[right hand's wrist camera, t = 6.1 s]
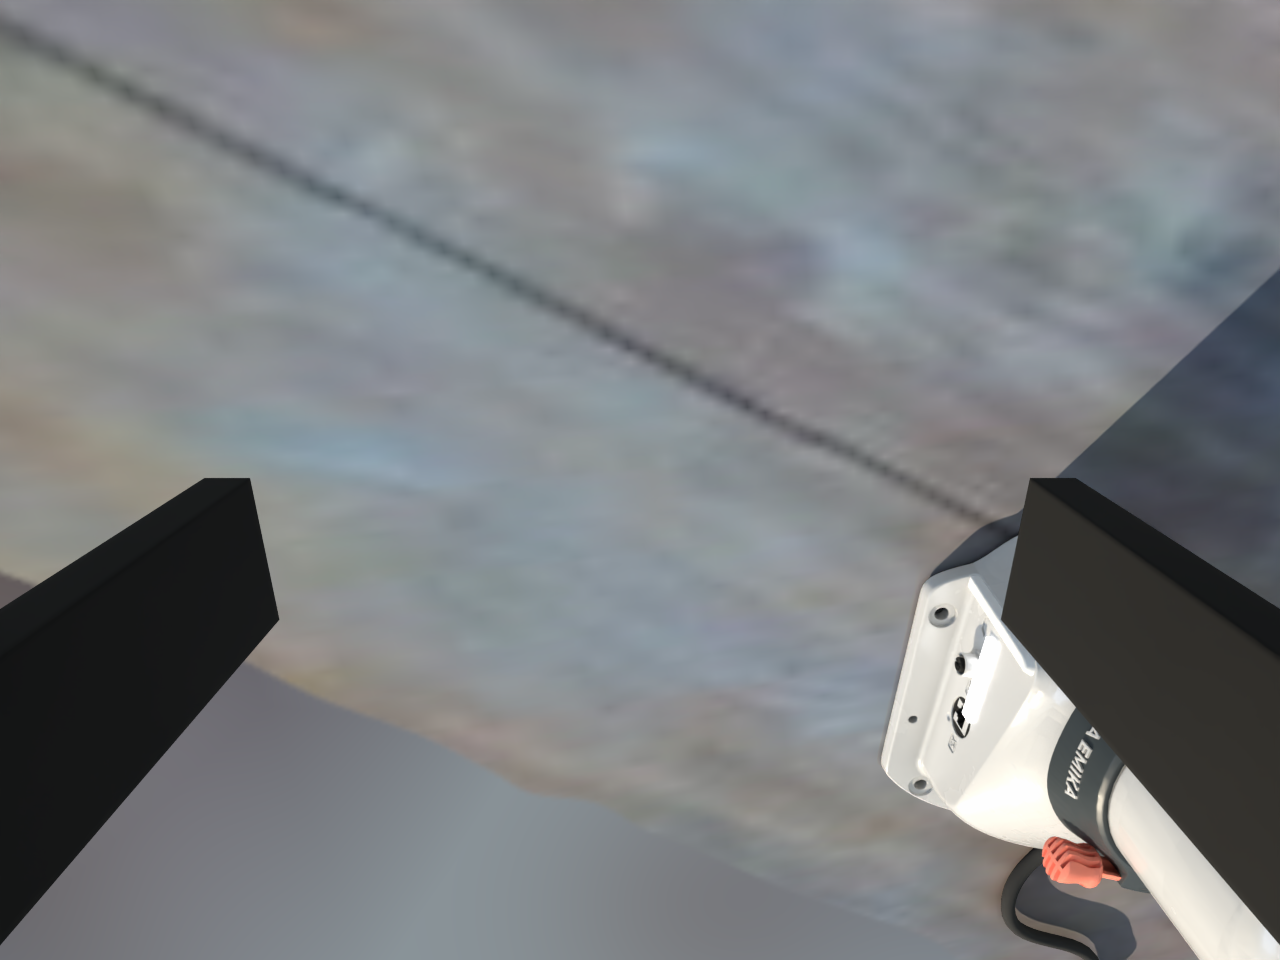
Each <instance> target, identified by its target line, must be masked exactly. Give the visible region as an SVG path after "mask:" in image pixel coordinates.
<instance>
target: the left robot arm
mask: <svg viewBox="0 0 1280 960" xmlns="http://www.w3.org/2000/svg"><path fill="white" fill-rule="evenodd" d="M1017 539H1018V536H1016V537H1014V538H1012V539H1010V540H1009V541H1007V542H1005V543H1004V544H1002V545H1001V546H1000V547H998V548H997V549H995V550H994V551H992V552H991V553H989V554H988V555H986V556H985V557H983V558H981V559H980V560H978V561H976V562H974V563H971V564H967V565H963V566H959V567H956V568H952V569H949V570H946V571H943V572H940V573H938V574H936V575H934V576H932V577H930V578H929V579H928V580H927V581H926V582H925V583H924V584H923V586H922V588H921V591H920V595H919V600H918V604H917V608H916V612H915V616H914V621H913V625H912V629H911V633H910V638H909V642H908V646H907V650H906V654H905V659H904V663H903V667H902V671H901V676H900V680H899V684H898V688H897V692H896V697H895V701H894V705H893V709H892V714H891V718H890V722H889V726H888V730H887V735H886V739H885V743H884V748H883V752H882V757H881V765H882V767H883V768H884V770H885V772H886V773H887V775H888V776H889V777H890V778H891V779H892V780H893V781H894V782H895V783H896V784H897V785H898V786H899V787H901V788H902V789H903V790H905V791H906V792H908V793H909V794H911V795H913V796H915V797H917V798H919V799H921V800H923V801H926V802H928V803H931V804H933V805H936V806H939V807H942V808H945V809H949V810H951V811H952V812H953V813H954V814H955V815H956V816H958V817H959V818H960V819H961V820H963V821H964V822H965V823H967V824H969V825H970V826H972V827H974V828H975V829H977V830H979V831H981V832H983V833H986V834H988V835H991V836H993V837H996V838H999V839H1002V840H1005V841H1008V842H1011V843H1015V844H1020V845H1024V846H1028V847H1034V849H1033V850H1032V851H1030V852H1029V853H1028V854H1027V855H1026V856H1025V857H1024V858H1023V859H1022V860H1021V861H1020V862H1019V863H1018V864H1017V866H1016V867H1015V868H1014V870H1013V871H1012V872H1011V874H1010V876H1009V877H1008V879H1007V881H1006V884H1005V886H1004V889H1003V893H1002V898H1001V911H1002V917H1003V919H1004V921H1005V923H1006V925H1007V926H1008V928H1009V929H1010V930H1011V931H1012V932H1013V933H1014V934H1016V935H1017V936H1019V937H1021V938H1022V939H1025V940H1027V941H1030V942H1033V943H1036V944H1040V945H1044V946H1048V947H1052V948H1056V949H1060V950H1064V951H1067V952H1070V953H1073V954H1075V955H1078V956H1079V957H1081V958H1083V959H1084V960H1099V959H1098V957H1097V956H1096V955H1095V953H1094V952H1093V951H1092V950H1091V949H1090V948H1089V947H1087V946H1086V945H1084V944H1083V943H1080V942H1078V941H1075V940H1073V939H1070V938H1066V937H1063V936H1058V935H1054V934H1050V933H1046V932H1042V931H1039V930H1035V929H1033V928H1030V927H1028V926H1026V925H1024V924H1022V923H1021V922H1020V921H1019V920H1018V919H1017V916H1016V914H1015V903H1016V899H1017V896H1018V893H1019V891H1020V889H1021V887H1022V885H1023V884H1024V882H1025V881H1026V879H1027V878H1028V877H1029V875H1030V874H1031V873H1032V872H1033V871H1034V870H1035V869H1036V868H1037V867H1038V866H1039V865H1040V864H1042V863H1043V866H1044V867H1046V873H1047V874H1048V875H1051V879H1052V880H1055V881H1057V882H1061V883H1078V884H1080V885H1082V886H1084V887H1086V888H1093V887H1095V886H1097V885H1098V884H1099V883H1100V881H1101V879H1102V877H1103V878H1108V879H1113V880H1117V882H1118V883H1119V884H1120V886H1121V887H1123V888H1126V889H1130V890H1134V891H1139V892H1145V893H1151V894H1152V896H1153V897H1154V898H1155V900H1156V901H1157V902H1158V904H1159V905H1160V906H1161V908H1162V909H1163V911H1164V912H1165V913H1166V915H1167V916H1168V917H1169V919H1170V920H1171V921H1172V923H1173V924H1174V925H1175V927H1176V928H1177V930H1178V931H1179V932H1180V934H1181V935H1182V936H1183V938H1184V939H1185V940H1186V942H1187V943H1188V945H1189V946H1190V947H1191V949H1192V950H1193V951H1194V953H1195V954H1196V955H1197V957H1198V958H1199V960H1280V945H1279V944H1278V942H1277V941H1276V940H1275V939H1274V938H1273V937H1272V935H1271V934H1270V933H1269V932H1268V931H1267V930H1266V928H1265V927H1264V926H1263V925H1262V924H1261V923H1260V921H1259V920H1258V919H1257V918H1256V917H1255V916H1254V914H1253V913H1252V912H1251V911H1250V910H1249V909H1248V907H1247V906H1246V905H1245V904H1244V903H1243V902H1242V900H1241V899H1240V898H1239V897H1238V896H1237V895H1236V893H1235V892H1234V891H1233V890H1232V889H1231V888H1230V886H1229V885H1228V884H1227V883H1226V882H1225V881H1224V879H1223V878H1222V877H1221V876H1220V875H1219V874H1218V872H1217V871H1216V870H1215V869H1214V868H1213V867H1212V865H1211V864H1210V863H1209V862H1208V861H1207V860H1206V858H1205V857H1204V856H1203V855H1202V854H1201V853H1200V851H1199V850H1198V849H1197V848H1196V847H1195V846H1194V844H1193V843H1192V842H1191V841H1190V840H1189V839H1188V837H1187V836H1186V835H1185V834H1184V833H1183V832H1182V830H1181V829H1180V828H1179V827H1178V826H1177V825H1176V823H1175V822H1174V821H1173V820H1172V819H1171V818H1170V816H1169V815H1168V814H1167V813H1166V812H1165V811H1164V809H1163V808H1162V807H1161V806H1160V805H1159V804H1158V802H1157V801H1156V800H1155V799H1154V798H1153V797H1152V796H1151V794H1150V793H1149V792H1148V791H1147V790H1146V789H1145V787H1144V786H1143V785H1142V784H1141V783H1140V782H1139V780H1138V779H1137V778H1136V777H1135V776H1134V775H1133V773H1132V772H1131V771H1130V770H1129V769H1128V768H1127V766H1126V765H1125V764H1124V763H1123V762H1122V761H1121V759H1120V758H1119V757H1118V756H1117V755H1116V754H1115V752H1114V751H1113V750H1112V749H1111V748H1110V747H1109V745H1108V744H1107V743H1106V742H1105V741H1104V740H1103V738H1102V737H1101V736H1100V735H1099V734H1098V733H1097V731H1096V730H1095V729H1094V728H1093V727H1092V726H1091V724H1090V723H1089V722H1088V721H1087V720H1086V719H1085V717H1084V716H1083V715H1082V714H1081V713H1080V712H1079V710H1078V709H1077V708H1076V707H1075V706H1074V705H1073V703H1072V702H1071V701H1070V700H1069V699H1068V698H1067V696H1066V695H1065V694H1064V693H1063V692H1062V691H1061V689H1060V688H1059V687H1058V686H1057V685H1056V684H1055V682H1054V681H1053V680H1052V679H1051V678H1050V677H1049V675H1048V674H1047V673H1046V672H1045V671H1044V670H1043V668H1042V667H1041V666H1040V665H1039V664H1038V663H1037V661H1036V660H1035V659H1034V658H1033V657H1032V656H1031V654H1030V653H1029V652H1028V651H1027V650H1026V649H1025V647H1024V646H1023V645H1022V644H1021V643H1020V642H1019V640H1018V639H1017V638H1016V637H1015V636H1014V635H1013V633H1012V632H1011V631H1010V630H1009V629H1008V628H1007V626H1006V625H1005V624H1004V623H1003V622H1002V621H1001V616H1002V611H1003V606H1004V601H1005V596H1006V592H1007V587H1008V582H1009V577H1010V572H1011V568H1012V563H1013V558H1014V553H1015V548H1016V544H1017ZM939 608H944V609H943V611H942V612H940V613H937V614H935V612H936V610H937V609H939ZM918 780H920V781H918Z"/></svg>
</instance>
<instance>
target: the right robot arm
mask: <svg viewBox="0 0 1280 960" xmlns="http://www.w3.org/2000/svg"><path fill="white" fill-rule="evenodd" d="M278 621H279V616H278V611H277V606H276V601H275V597H274V592H273V587H272V582H271V577H270V572H269V568H268V563H267V558H266V553H265V548H264V544H263V539H262V534H261V529H260V524H259V519H258V515H257V510H256V505H255V500H254V495H253V491H252V486H251V481H250V478H204V479H202V480H201V481H199V482H198V483H196V484H195V485H193V486H191V487H190V488H188V489H187V490H185V491H184V492H182V493H180V494H179V495H177V496H176V497H174V498H173V499H171V500H170V501H168V502H166V503H165V504H163V505H162V506H160V507H159V508H157V509H156V510H154V511H152V512H151V513H149V514H148V515H146V516H145V517H143V518H141V519H140V520H138V521H137V522H135V523H134V524H132V525H131V526H129V527H127V528H126V529H124V530H123V531H121V532H120V533H118V534H117V535H115V536H113V537H112V538H110V539H109V540H107V541H106V542H104V543H102V544H101V545H99V546H98V547H96V548H95V549H93V550H92V551H90V552H88V553H87V554H85V555H84V556H82V557H81V558H79V559H77V560H76V561H74V562H73V563H71V564H70V565H68V566H67V567H65V568H63V569H62V570H60V571H59V572H57V573H56V574H54V575H53V576H51V577H49V578H48V579H46V580H45V581H43V582H42V583H40V584H38V585H37V586H35V587H34V588H32V589H31V590H29V591H28V592H26V593H24V594H23V595H21V596H20V597H18V598H17V599H15V600H14V601H12V602H10V603H9V604H7V605H6V606H4V607H3V608H1V609H0V945H1V944H2V942H3V941H4V940H5V939H6V938H7V937H8V935H9V934H10V933H11V932H12V931H13V930H14V928H15V927H16V926H17V925H18V924H19V923H20V921H21V920H22V919H23V918H24V917H25V916H26V914H27V913H28V912H29V911H30V910H31V909H32V907H33V906H34V905H35V904H36V903H37V902H38V900H39V899H40V898H41V897H42V896H43V895H44V893H45V892H46V891H47V890H48V889H49V888H50V886H51V885H52V884H53V883H54V882H55V881H56V879H57V878H58V877H59V876H60V875H61V874H62V872H63V871H64V870H65V869H66V868H67V867H68V865H69V864H70V863H71V862H72V861H73V860H74V858H75V857H76V856H77V855H78V854H79V853H80V851H81V850H82V849H83V848H84V847H85V846H86V844H87V843H88V842H89V841H90V840H91V839H92V837H93V836H94V835H95V834H96V833H97V832H98V830H99V829H100V828H101V827H102V826H103V825H104V823H105V822H106V821H107V820H108V819H109V818H110V816H111V815H112V814H113V813H114V812H115V811H116V809H117V808H118V807H119V806H120V805H121V804H122V802H123V801H124V800H125V799H126V798H127V797H128V795H129V794H130V793H131V792H132V791H133V790H134V788H135V787H136V786H137V785H138V784H139V783H140V782H141V780H142V779H143V778H144V777H145V776H146V774H147V773H148V772H149V771H150V770H151V769H152V768H153V766H154V765H155V764H156V763H157V762H158V760H159V759H160V758H161V757H162V756H163V755H164V754H165V752H166V751H167V750H168V749H169V748H170V747H171V745H172V744H173V743H174V742H175V741H176V739H177V738H178V737H179V736H180V735H181V734H182V733H183V731H184V730H185V729H186V728H187V727H188V726H189V724H190V723H191V722H192V721H193V720H194V719H195V717H196V716H197V715H198V714H199V713H200V711H201V710H202V709H203V708H204V707H205V706H206V705H207V703H208V702H209V701H210V700H211V699H212V698H213V696H214V695H215V694H216V693H217V692H218V691H219V689H220V688H221V687H222V686H223V685H224V684H225V682H226V681H227V680H228V679H229V678H230V677H231V675H232V674H233V673H234V672H235V671H236V669H237V668H238V667H239V666H240V665H241V664H242V663H243V661H244V660H245V659H246V658H247V657H248V656H249V654H250V653H251V652H252V651H253V650H254V649H255V647H256V646H257V645H258V644H259V643H260V642H261V640H262V639H263V638H264V637H265V636H266V635H267V633H268V632H269V631H270V630H271V629H272V628H273V626H274V625H275V624H276V623H277V622H278ZM1001 621H1002V622H1003V623H1004V624H1005V625H1006V626H1007V628H1008V629H1009V630H1010V631H1011V632H1012V633H1013V635H1014V636H1015V637H1016V638H1017V639H1018V640H1019V642H1020V643H1021V644H1022V645H1023V646H1024V647H1025V649H1026V650H1027V651H1028V652H1029V653H1030V654H1031V656H1032V657H1033V658H1034V659H1035V660H1036V661H1037V663H1038V664H1039V665H1040V666H1041V667H1042V668H1043V670H1044V671H1045V672H1046V673H1047V674H1048V675H1049V677H1050V678H1051V679H1052V680H1053V681H1054V682H1055V684H1056V685H1057V686H1058V687H1059V688H1060V689H1061V691H1062V692H1063V693H1064V694H1065V695H1066V696H1067V698H1068V699H1069V700H1070V701H1071V702H1072V703H1073V705H1074V706H1075V707H1076V708H1077V709H1078V710H1079V712H1080V713H1081V714H1082V715H1083V716H1084V717H1085V719H1086V720H1087V721H1088V722H1089V723H1090V724H1091V726H1092V727H1093V728H1094V729H1095V730H1096V731H1097V733H1098V734H1099V735H1100V736H1101V737H1102V738H1103V740H1104V741H1105V742H1106V743H1107V744H1108V745H1109V747H1110V748H1111V749H1112V750H1113V751H1114V752H1115V754H1116V755H1117V756H1118V757H1119V758H1120V759H1121V761H1122V762H1123V763H1124V764H1125V765H1126V766H1127V768H1128V769H1129V770H1130V771H1131V772H1132V773H1133V775H1134V776H1135V777H1136V778H1137V779H1138V780H1139V782H1140V783H1141V784H1142V785H1143V786H1144V787H1145V789H1146V790H1147V791H1148V792H1149V793H1150V794H1151V796H1152V797H1153V798H1154V799H1155V800H1156V801H1157V802H1158V804H1159V805H1160V806H1161V807H1162V808H1163V809H1164V811H1165V812H1166V813H1167V814H1168V815H1169V816H1170V818H1171V819H1172V820H1173V821H1174V822H1175V823H1176V825H1177V826H1178V827H1179V828H1180V829H1181V830H1182V832H1183V833H1184V834H1185V835H1186V836H1187V837H1188V839H1189V840H1190V841H1191V842H1192V843H1193V844H1194V846H1195V847H1196V848H1197V849H1198V850H1199V851H1200V853H1201V854H1202V855H1203V856H1204V857H1205V858H1206V860H1207V861H1208V862H1209V863H1210V864H1211V865H1212V867H1213V868H1214V869H1215V870H1216V871H1217V872H1218V874H1219V875H1220V876H1221V877H1222V878H1223V879H1224V881H1225V882H1226V883H1227V884H1228V885H1229V886H1230V888H1231V889H1232V890H1233V891H1234V892H1235V893H1236V895H1237V896H1238V897H1239V898H1240V899H1241V900H1242V902H1243V903H1244V904H1245V905H1246V906H1247V907H1248V909H1249V910H1250V911H1251V912H1252V913H1253V914H1254V916H1255V917H1256V918H1257V919H1258V920H1259V921H1260V923H1261V924H1262V925H1263V926H1264V927H1265V928H1266V930H1267V931H1268V932H1269V933H1270V934H1271V935H1272V937H1273V938H1274V939H1275V940H1276V941H1277V942H1278V944H1279V945H1280V609H1279V608H1277V607H1276V606H1274V605H1273V604H1271V603H1270V602H1268V601H1266V600H1265V599H1263V598H1262V597H1260V596H1259V595H1257V594H1256V593H1254V592H1252V591H1251V590H1249V589H1248V588H1246V587H1245V586H1243V585H1242V584H1240V583H1238V582H1237V581H1235V580H1234V579H1232V578H1231V577H1229V576H1227V575H1226V574H1224V573H1223V572H1221V571H1220V570H1218V569H1217V568H1215V567H1213V566H1212V565H1210V564H1209V563H1207V562H1206V561H1204V560H1203V559H1201V558H1199V557H1198V556H1196V555H1195V554H1193V553H1192V552H1190V551H1188V550H1187V549H1185V548H1184V547H1182V546H1181V545H1179V544H1178V543H1176V542H1174V541H1173V540H1171V539H1170V538H1168V537H1167V536H1165V535H1163V534H1162V533H1160V532H1159V531H1157V530H1156V529H1154V528H1153V527H1151V526H1149V525H1148V524H1146V523H1145V522H1143V521H1142V520H1140V519H1139V518H1137V517H1135V516H1134V515H1132V514H1131V513H1129V512H1128V511H1126V510H1124V509H1123V508H1121V507H1120V506H1118V505H1117V504H1115V503H1114V502H1112V501H1110V500H1109V499H1107V498H1106V497H1104V496H1103V495H1101V494H1100V493H1098V492H1096V491H1095V490H1093V489H1092V488H1090V487H1089V486H1087V485H1085V484H1084V483H1082V482H1081V481H1079V480H1078V479H1076V478H1030V481H1029V486H1028V491H1027V495H1026V500H1025V505H1024V510H1023V515H1022V519H1021V524H1020V529H1019V534H1018V539H1017V544H1016V548H1015V553H1014V558H1013V563H1012V568H1011V572H1010V577H1009V582H1008V587H1007V592H1006V596H1005V601H1004V606H1003V611H1002V616H1001Z"/></svg>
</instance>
